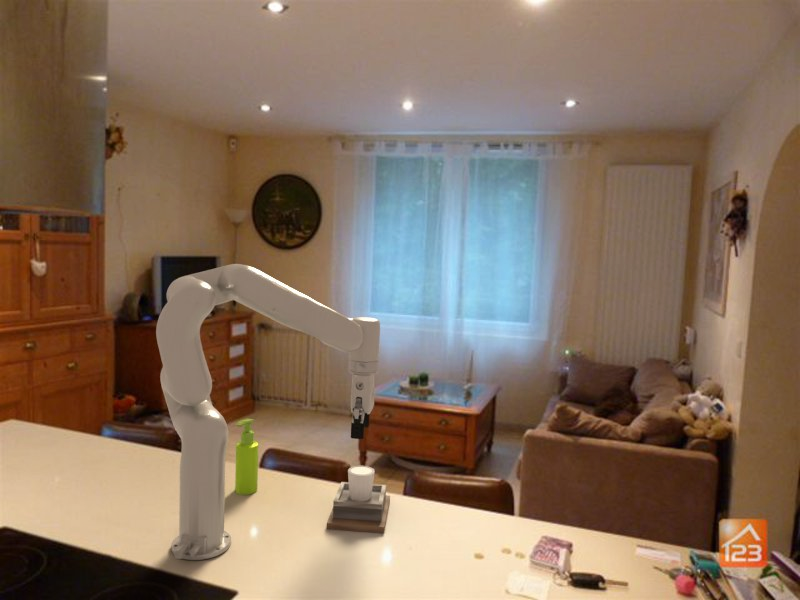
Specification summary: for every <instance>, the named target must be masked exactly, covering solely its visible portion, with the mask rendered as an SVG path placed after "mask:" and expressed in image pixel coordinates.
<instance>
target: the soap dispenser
mask: <svg viewBox="0 0 800 600" xmlns="http://www.w3.org/2000/svg"><path fill="white" fill-rule="evenodd" d="M254 421H255V419H254V418H253V419H252V418H245V419H241V420H239V421H237V422H236V423H235V424H234V425H235V426H237V427H242V426H244V429H243V430H242V431H241V432H240V441H239V442H237V443H236V444H235V483H234V484H235V486H234V490H235V493H236V494H238V495H243V496H246V495H252V494H255V493H257V492H258V477H259V475H258V474H259V473H258V472H259V470H258V469H259V464H258V463H259V442H257V441H255V440H254V439H255V435H254V434H255V431H254V430H252V423H253V422H254Z"/></svg>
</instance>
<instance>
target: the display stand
mask: <svg viewBox="0 0 800 600" xmlns="http://www.w3.org/2000/svg"><path fill="white" fill-rule="evenodd" d="M386 493H387V484H380V483H379V484H377V483H373V488H372V495H371V498H370V499H369V500H367V501H354V500H352V499H350V497H349V481H348V482H347V481H341V482H340V485H339V487H338V489H337V492H336V494H335V497H334V499H333V506H332V508H331V511H330V514H329V516H328V518H327V521H326V530H332V531H334V530H335V531H336V530H337V531H349V532H364V533H375V534H377V533H378V534H385V529H386V524H387V520H388V519H387V518H388V514H389V507H390V503H391V495H387V494H386Z"/></svg>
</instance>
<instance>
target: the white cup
mask: <svg viewBox="0 0 800 600" xmlns="http://www.w3.org/2000/svg"><path fill="white" fill-rule="evenodd" d="M375 472H376V471H375V468H372V467H370V466H368V465H355V466H351V467H349V468H348V469H347V476H348V477H347V478H348V482H349V497H350V499H352V500H354V501H367V500H369V499H370V498H371V495H372V488H373V484H374V479H375Z"/></svg>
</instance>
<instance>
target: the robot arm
mask: <svg viewBox="0 0 800 600" xmlns="http://www.w3.org/2000/svg"><path fill="white" fill-rule="evenodd" d="M166 301H167V302H166V303H165V305H164V306H163V308H162V309H161V312H160V314H159V315H158V320H157V323H156V327H155V329H156V330H155V334H156V341H157V346H158V350H159V355H160V359H161V363H162V368H161V370H160V376H159V378H160V384H161V390H162V392H163V396H164V399H165V403H166V405H167V409H168V412H169V413H168V414H169V416H170V417H169V418H170V419H171V422H172V425H173V428H174V429H175V431H176V433H177V435H178V436H179V438H180V440H181V453H180V454H181V455H180V461H179V520H178V521H179V523H178V524H179V529H178V530H179V531H178V532H179V533H178V536H177V537H175V538H174V540H173V541H172V543H171V552H172V553H173V557H174V558H175V559H177V560H182V559H183V560H188V561H201V560H207V559H211V558H215V557H217V556H220V555H222V554H223V553H225V552H226V551H227V550H228V549H229V548H230V547H231V544H232V537H231V535H230V534H229V532H227V531H226V530H225V501H226V500H225V495H226V491H225V490H226V489H225V488H226V456H227V449H228V443H229V428H228V425H227V422H226V420H225V418H224V416H223V415H222V414H221V413H220V412H219V411H218V409H217V408H215V407H214V406H213V403H212V399H211V396H210V395H211V393H212V390H213V389H212V388H213V380H212V376H211V374H210V373H211V372H210V370H209V366H208V363H207V360H206V356H205V353H204V350H203V345H202V341H201V332H200V331H201V327H202V325H203V323H204V321H205V319H206V318H207V317H208V315H210V314H211V312H212V311H213V310H214V308H215V306H218V305H222V304H226V303H229V302H231V301H235V302H237V303H239V304H241V305H243V306H245V307H247V308H248V309H251V310H252V311H255V312H257V313H258V314H261V315H262V316H264V317H266V318H269V319H271V320H273V321H275V322H277V324H280V325H283V326H285V327H288V328H290V329H292V330H296V331H298V332H302V333H304V334H307V335H309V336H311V337H313V338H315V339H318V340H320V342H321V343H323V344H324V345H325V346H328V347H330V348H333V349H336V350H338V351H340V352H343V353H348V369H347V372H348V373H349V374H351V391H350V411H351V413H352V416H351V417H352V418H351V423H350V425H351V426H350V439H356V440H364V439H365V428H369V427H370V414H371V413H372V411H373V409H374V406H375V375H377V374H379V360H380V359H379V358H380V356H379V354H380V341H381V340H380V338H381V337H380V336H381V323H380V321H379V320H378V319H377V318H374V317H369V316H368V317H366V316H363V317H362V316H358V317H354V318H353V317H351V318H350V317H347V316H345V315H343V314H341V313H340V312H337V311H336V310H333V309H332V308H330V307H328V306H326V305H324V304H322V303H320V302H318V301H316V300H314V299H313V298H311V297H309V296H308V295H306V294H304V293H302V292H299V291H298V290H296V289H295V288H293V287H290V286H289V285H287V284H285V283H283V282H281V280H280V281H279V280H278V279H275V278H274V277H272V276H270V275H269V274H267V273H265V272H263V271H261V270H260V269H257V267H256V268H255V267H253V266H250V265H248V264H240V263H232V264H231V263H230V264H227V265H223V266H219V267H216V268H215V267H214V268H212V269H207V270H204V271H200V272H195V273H191V274H188V275H184V276H181V277H178V278H177V279H174V280H173V281H172V282H171V283H170V285H169V286H168V288H167V291H166Z"/></svg>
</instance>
